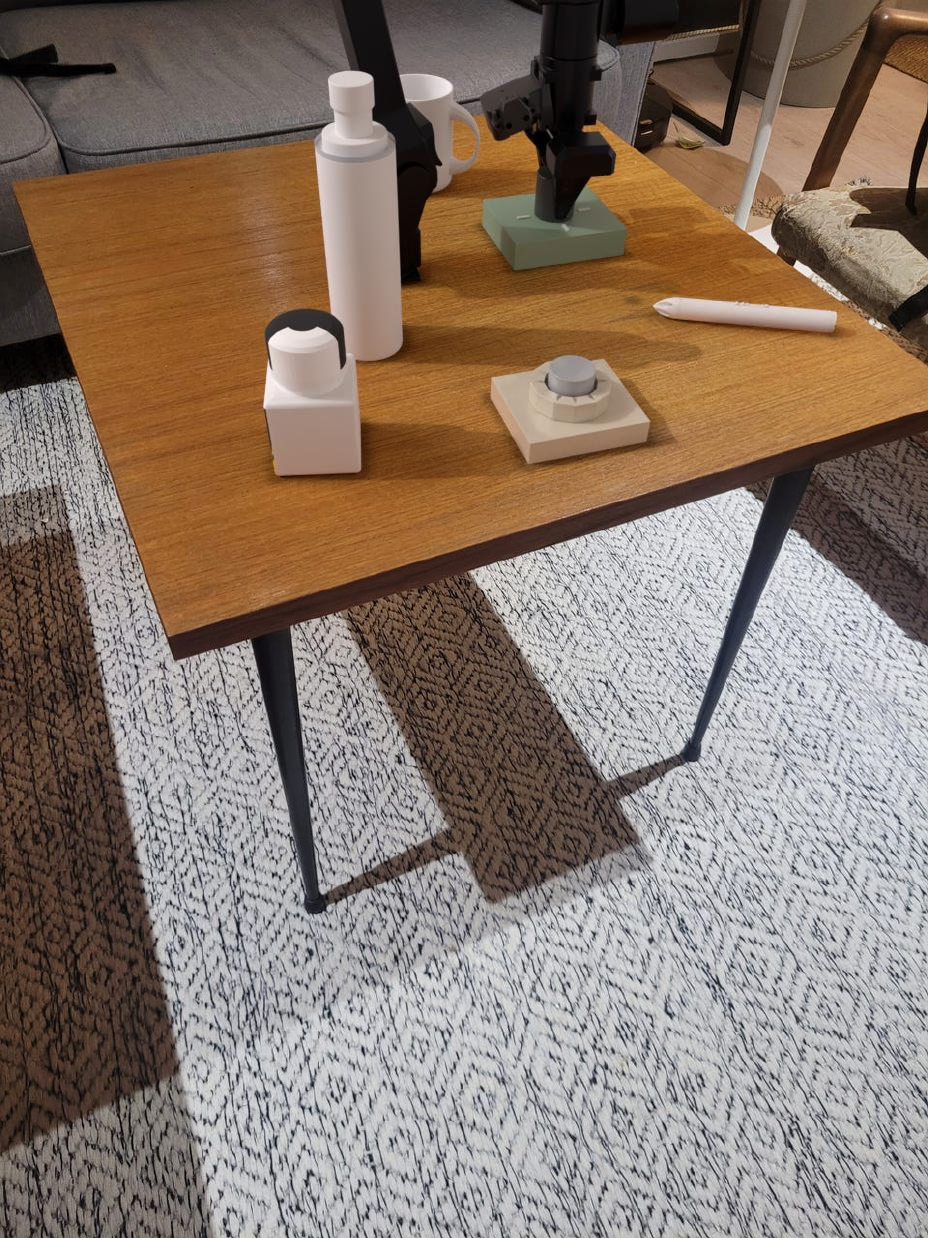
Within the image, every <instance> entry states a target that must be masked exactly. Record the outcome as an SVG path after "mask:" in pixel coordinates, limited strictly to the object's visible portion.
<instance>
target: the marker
mask: <svg viewBox="0 0 928 1238" xmlns="http://www.w3.org/2000/svg"><path fill="white" fill-rule="evenodd" d="M652 307H653V309H654V310H655V311H656V312H658V313H659V314H660V315H662V316H664V317H667V318H670V319H672V320H673V319H674V320H682V321H683V320H684V321H695V322H705V323H715V324H716V323H717V324H727V325H739V326H751V327H761V328H772V329H781V330H782V329H784V330H793V331H795V330H796V331H806V332H817V333H833V332H834V330H835V326H836V325H837V320H838V313H837V312H836V311H833V310H826V309H815V308H804V307H795V306H781V305H771V304H768V303H765V304H764V303H762V304H759V303H748V301H747V302H744V301H742V302H738V300H736V301H725V300H712V299H702V298H701V299H700V298H691V297H680V296H679V297H678V296H675V297H668V298H664V299H662V300H660V301H657V302H655V303H654V304H653V305H652Z"/></svg>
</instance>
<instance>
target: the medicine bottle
mask: <svg viewBox="0 0 928 1238" xmlns="http://www.w3.org/2000/svg"><path fill="white" fill-rule="evenodd" d="M263 336H264V341H265V346H266V352H267V367H266V377H265V385H264V396H263V406H262V407H263V413H264V419H265V424H266V428H267V429H266V430H267V435H268V441H269V447H270V452H271V458H272V464H273V470H274V473H275V475H276V476H279V477H282V476H285V477H286V476H305V475H306V476H308V475H329V474H331V475H332V474H354V473H359V472H361V471H362V430H361V429H362V428H361V426H362V425H361V411H360V400H359V387H358V373H357V363H356V362H357V360H355V356H354V355H353V354H352V353H346V347H345V336H344V327H343V325H342V323H341V322H340V321H339V320H338V319H337V318H336V317H335V316H333V315H332V314H331V312H328V311H326V310H321V309H317V308H297V309H292V310H287V311H285V312H283V313H282V312H281V313H280V314H278V315H276V316H275V317H273V319H271V320H270V321H269V323H268V324H267V326H266V327H265V329H264V335H263Z"/></svg>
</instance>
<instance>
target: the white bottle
mask: <svg viewBox="0 0 928 1238" xmlns="http://www.w3.org/2000/svg"><path fill="white" fill-rule="evenodd" d="M327 82H328V83H327V85H328V95H329V105H330V108H331V109H332V110H333V117H334V121H333V122H330V123H328V124H326V125H325V126H324V127H323V128H322V130H321V132H320V133H318V134H317V136H316V137H315V138H314V152H315V153H314V154H315V162H316V173H317V184H318V193H319V194H318V195H319V203H320V204H319V205H320V214H321V225H322V234H323V246H324V254H325V255H324V256H325V265H326V275H327V284H328V285H327V286H328V294H329V304H330V314H332V315H333V316H335V317H336V318H337V319H338V320H339V321H340V322H341V323H342V325H343V327H344V336H345V347H346V353H352V354H353V355H354V356H355V361H360V362H375V361H381V360H385V359H388V358H390V357H392V356H393V355H395V354H397V352H399V351H400V349H401V348H402V346H403V341H404V334H403V333H404V331H403V311H402V310H403V307H402V304H403V303H402V284H401V276H400V249H399V221H398V196H397V172H396V148H395V144H394V143H395V138H394V136H393V135H392V134H391V133H390V132H388V131H387V130H386V128H385V127H384V126H383V125H381V124H379V123H377V122H374V121H372V108H373V107H374V104H375V101H374V81H373V77H372V76H371V75H369V74H367V73H364V72H360V71H351V70H345V71H343V70H342V71H338V72H335V73H333V74H331V75H330V76H329V77H328V78H327ZM390 138H391V139H392V140H393V141H394V142H393V141H392V140H391V139H390Z"/></svg>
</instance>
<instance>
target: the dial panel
mask: <svg viewBox="0 0 928 1238" xmlns="http://www.w3.org/2000/svg"><path fill="white" fill-rule="evenodd" d="M535 193H536V192H535ZM535 193H526V194H518V195H511V196H502V197H494V198H486V199H483V200H482V215H481V216H482V219H481V226H482V228H483V229H484V230H485V231H486V232H485V233H487V234H488V236H489V238H491V240H492V242H493V243H494V244H495V246H496V248H497V249H498V250H499V252H500V253H501V255H502V256H503V257H504V258H505V260H506V262H507V263H508V264H509V267H511V269H512V270H513V271H521V270H527V269H528V270H529V269H535V268H541V267H549V266H557V265H563V264H564V265H565V264H571V263H576V262H577V263H578V262H583V261H584V262H585V261H590V260H599V259H606V258H612V257H618V256H624V253H625V247H626V240H627V234H628V233H627V232H628V228H627V227H626V226H625V225H624V224H623V222H621V220H620V219H619V218H618V217H617V216H616V214H615V213H613V211H611V210H610V209H609V208H608V206H607V205H606V204H605V203H604V201H602V200H601V198H599V196H597V194H596V193H595V192H594V191H593V190H592V189H591V188H590V187H589V186H585V187H584V189H583V190H582V192H581V193H580V195H579V197H578V198H577V200H576V202H575V206H574V215H573V217H572V218H571V219H569V220H567V221H564V222H548V221H544V220H541V219H539V218H538V217H536V216H535V214H534V207H535Z"/></svg>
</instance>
